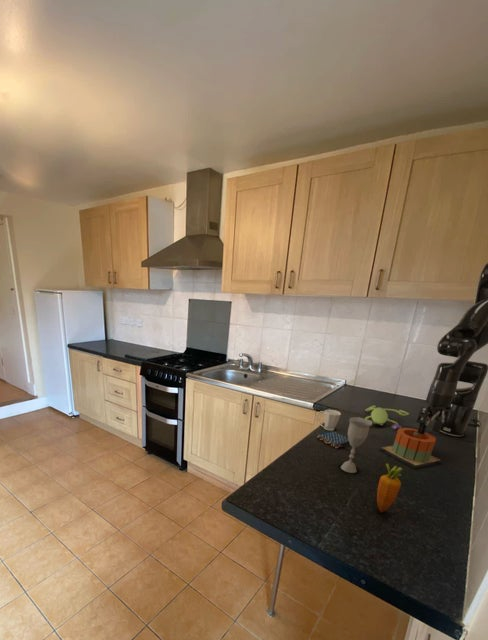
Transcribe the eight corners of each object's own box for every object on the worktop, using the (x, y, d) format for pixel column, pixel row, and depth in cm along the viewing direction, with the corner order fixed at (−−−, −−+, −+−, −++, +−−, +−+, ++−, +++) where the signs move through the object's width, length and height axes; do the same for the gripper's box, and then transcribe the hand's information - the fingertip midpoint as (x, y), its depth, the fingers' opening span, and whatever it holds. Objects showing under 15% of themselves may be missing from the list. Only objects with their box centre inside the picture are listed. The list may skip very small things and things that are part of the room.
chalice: (350, 476, 110) (362, 426, 104) (333, 466, 116) (344, 419, 110) (364, 471, 114) (377, 423, 108) (347, 462, 119) (358, 416, 113)
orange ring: (409, 435, 132) (411, 426, 130) (440, 449, 121) (443, 439, 120) (387, 439, 127) (390, 429, 126) (418, 453, 117) (421, 443, 116)
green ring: (406, 444, 133) (409, 435, 132) (436, 459, 123) (440, 449, 121) (385, 448, 129) (387, 439, 127) (415, 463, 118) (418, 453, 117)
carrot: (367, 506, 95) (380, 460, 90) (383, 506, 95) (397, 460, 90) (378, 518, 90) (392, 470, 85) (395, 518, 91) (410, 470, 86)
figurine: (407, 420, 164) (411, 409, 162) (399, 436, 144) (403, 424, 142) (367, 410, 175) (370, 400, 173) (354, 423, 155) (357, 412, 153)
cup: (333, 433, 143) (337, 416, 140) (311, 426, 149) (315, 409, 147) (339, 429, 148) (343, 412, 145) (318, 422, 154) (321, 406, 152)
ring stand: (404, 446, 135) (411, 424, 131) (440, 463, 123) (448, 439, 119) (380, 450, 130) (386, 427, 126) (414, 469, 117) (422, 443, 114)
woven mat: (336, 449, 129) (337, 444, 128) (315, 438, 137) (316, 433, 137) (354, 445, 133) (355, 440, 133) (332, 434, 142) (333, 430, 141)
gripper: (439, 396, 114) (425, 438, 119) (465, 393, 119) (450, 434, 125) (418, 389, 121) (406, 430, 126) (443, 387, 126) (430, 426, 131)
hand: (428, 432), depth 125 cm, fingers open, 8 cm apart
